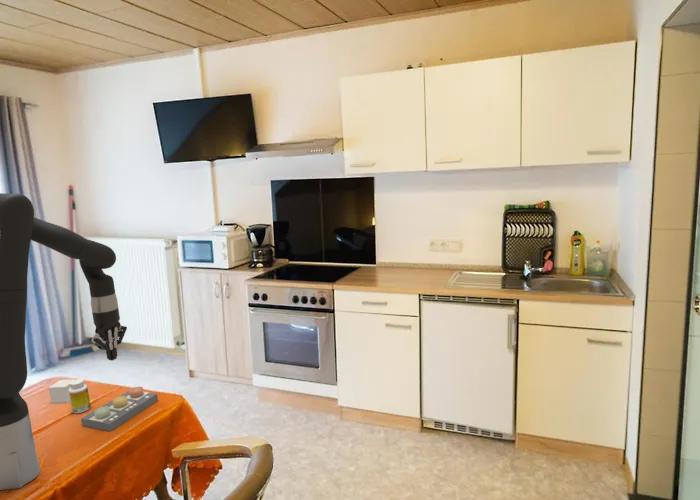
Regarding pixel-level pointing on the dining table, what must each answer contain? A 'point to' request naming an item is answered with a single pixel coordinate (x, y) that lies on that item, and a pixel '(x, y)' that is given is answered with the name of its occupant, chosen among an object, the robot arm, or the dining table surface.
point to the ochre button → (120, 401)
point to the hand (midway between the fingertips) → (112, 359)
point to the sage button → (102, 412)
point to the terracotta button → (136, 391)
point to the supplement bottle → (79, 396)
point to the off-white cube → (60, 391)
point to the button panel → (120, 412)
